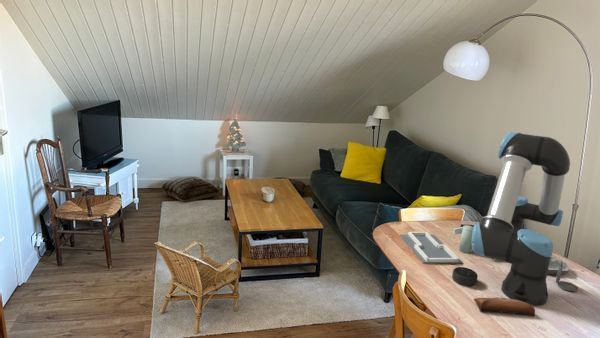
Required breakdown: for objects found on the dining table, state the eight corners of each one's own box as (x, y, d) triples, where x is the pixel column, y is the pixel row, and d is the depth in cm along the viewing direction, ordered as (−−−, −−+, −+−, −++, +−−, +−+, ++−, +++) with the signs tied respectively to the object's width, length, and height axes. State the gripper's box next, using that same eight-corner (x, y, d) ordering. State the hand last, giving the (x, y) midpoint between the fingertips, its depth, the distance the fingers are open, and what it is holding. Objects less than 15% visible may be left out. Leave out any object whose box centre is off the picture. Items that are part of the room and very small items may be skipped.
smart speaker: (460, 288, 162) (462, 278, 161) (447, 276, 170) (448, 267, 169) (481, 286, 164) (483, 276, 163) (466, 274, 172) (468, 265, 171)
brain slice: (560, 262, 189) (561, 255, 188) (570, 280, 173) (572, 273, 173) (511, 253, 195) (512, 247, 194) (516, 270, 179) (518, 263, 178)
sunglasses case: (523, 302, 154) (531, 293, 149) (529, 321, 149) (537, 312, 144) (471, 298, 154) (477, 289, 150) (475, 317, 150) (482, 308, 145)
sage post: (473, 253, 192) (477, 229, 189) (462, 253, 191) (466, 229, 188) (467, 248, 196) (471, 225, 194) (457, 248, 196) (461, 225, 193)
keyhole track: (462, 263, 181) (463, 259, 181) (423, 263, 179) (423, 259, 178) (433, 235, 208) (434, 231, 207) (399, 235, 206) (400, 231, 205)
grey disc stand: (581, 293, 163) (587, 268, 161) (558, 291, 163) (564, 267, 161) (568, 282, 171) (574, 258, 169) (547, 280, 171) (552, 257, 169)
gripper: (521, 249, 192) (487, 257, 182) (475, 228, 213) (443, 234, 203) (524, 234, 190) (490, 240, 180) (478, 214, 211) (446, 219, 202)
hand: (465, 237), depth 192 cm, fingers open, 13 cm apart
